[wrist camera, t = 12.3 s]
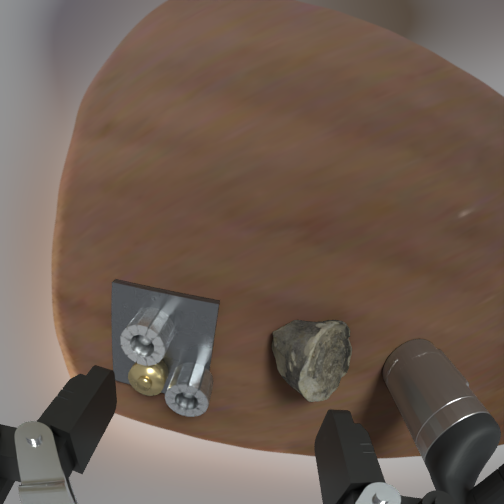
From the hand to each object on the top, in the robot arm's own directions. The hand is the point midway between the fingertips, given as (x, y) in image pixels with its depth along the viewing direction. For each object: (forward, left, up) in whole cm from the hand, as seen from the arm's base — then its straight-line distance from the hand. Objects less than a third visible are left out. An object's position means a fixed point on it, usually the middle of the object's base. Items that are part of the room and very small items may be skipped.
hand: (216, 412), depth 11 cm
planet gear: (+10, +13, -27) cm, 31 cm away
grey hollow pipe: (+4, +20, -27) cm, 34 cm away
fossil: (-11, +12, -28) cm, 33 cm away
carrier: (+9, +16, -28) cm, 34 cm away
